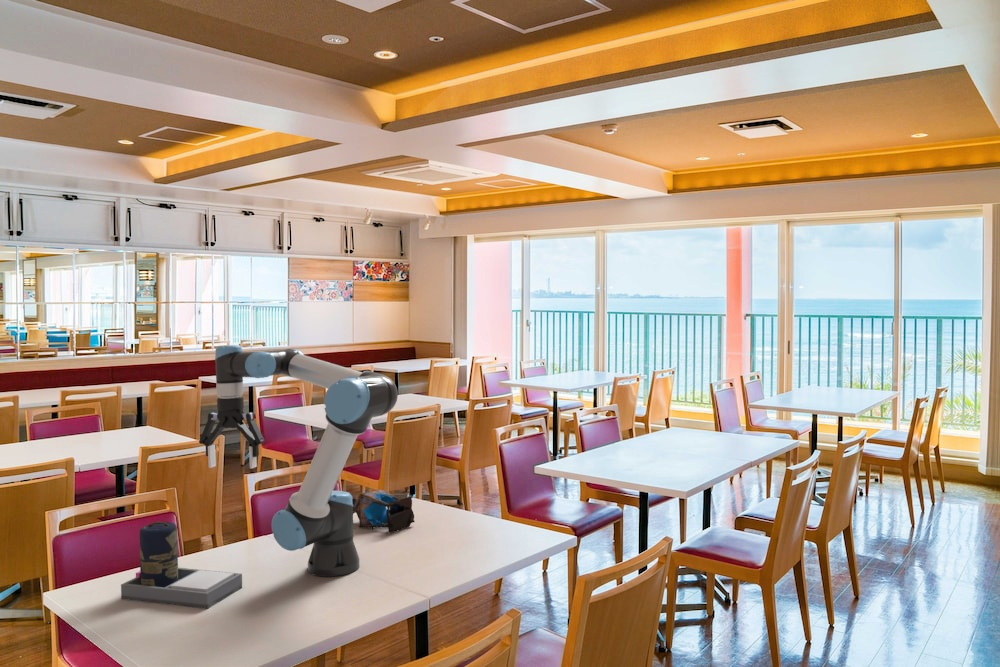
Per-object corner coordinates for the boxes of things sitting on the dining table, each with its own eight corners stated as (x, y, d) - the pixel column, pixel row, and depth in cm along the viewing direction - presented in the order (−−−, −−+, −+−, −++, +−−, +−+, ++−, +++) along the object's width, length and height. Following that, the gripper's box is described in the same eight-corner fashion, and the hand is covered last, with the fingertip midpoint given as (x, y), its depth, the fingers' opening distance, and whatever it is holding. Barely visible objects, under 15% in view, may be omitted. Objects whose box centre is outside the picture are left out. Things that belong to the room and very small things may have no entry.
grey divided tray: (242, 587, 206) (241, 569, 206) (207, 608, 192) (207, 589, 192) (160, 579, 213) (159, 561, 213) (121, 599, 199) (120, 580, 199)
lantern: (404, 547, 260) (352, 533, 273) (424, 506, 268) (373, 494, 282) (381, 527, 249) (328, 512, 262) (403, 484, 257) (350, 472, 271)
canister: (163, 594, 199) (162, 528, 199) (132, 591, 201) (131, 526, 200) (185, 581, 209) (184, 518, 208) (155, 579, 210) (154, 516, 210)
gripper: (274, 395, 222) (277, 465, 223) (200, 395, 227) (202, 464, 228) (261, 397, 215) (264, 470, 215) (185, 398, 220) (187, 469, 220)
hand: (232, 467), depth 222 cm, fingers open, 13 cm apart
